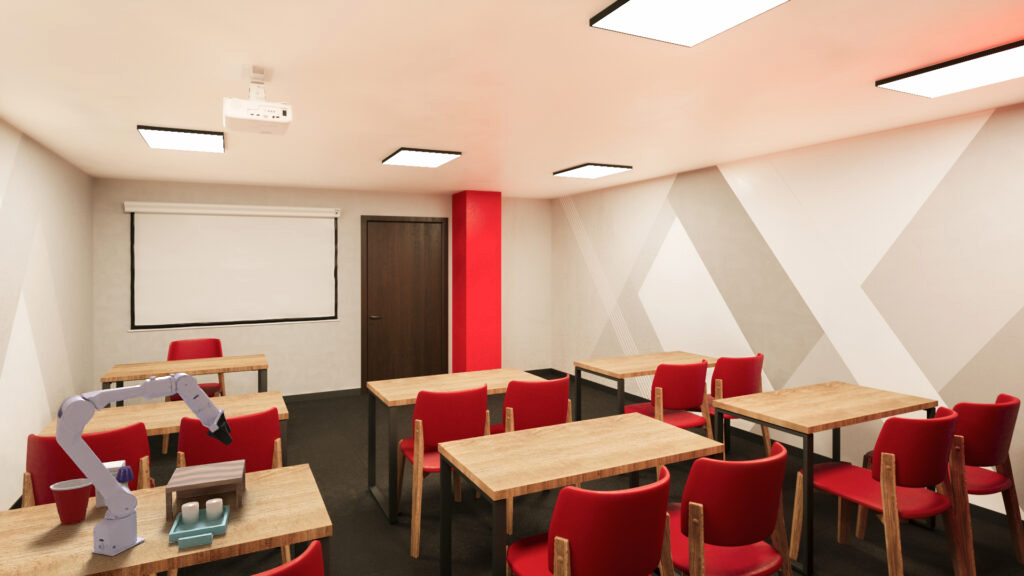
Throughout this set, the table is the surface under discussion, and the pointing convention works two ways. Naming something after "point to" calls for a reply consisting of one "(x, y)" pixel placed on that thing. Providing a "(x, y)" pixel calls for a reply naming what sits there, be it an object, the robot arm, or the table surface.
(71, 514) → the plastic cup
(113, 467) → the supplement box
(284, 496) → the table surface
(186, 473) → the walnut shelf
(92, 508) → the table surface
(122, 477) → the toy lamp
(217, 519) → the tray
